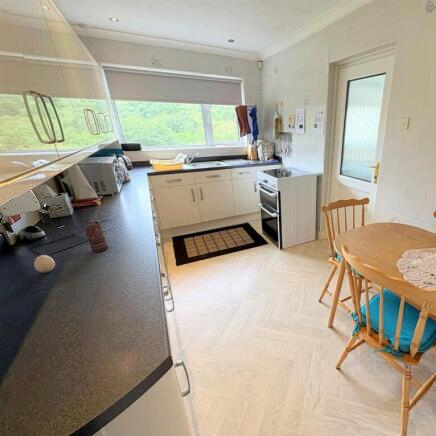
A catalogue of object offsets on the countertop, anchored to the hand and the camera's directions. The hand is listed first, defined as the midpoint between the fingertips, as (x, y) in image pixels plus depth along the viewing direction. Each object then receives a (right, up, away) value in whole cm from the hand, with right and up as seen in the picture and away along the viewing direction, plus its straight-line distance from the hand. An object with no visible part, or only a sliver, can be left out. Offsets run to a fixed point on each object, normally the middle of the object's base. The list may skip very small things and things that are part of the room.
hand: (29, 227), depth 89 cm
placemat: (-17, -10, +29) cm, 35 cm away
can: (+7, -12, +25) cm, 28 cm away
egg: (0, -19, +7) cm, 20 cm away
